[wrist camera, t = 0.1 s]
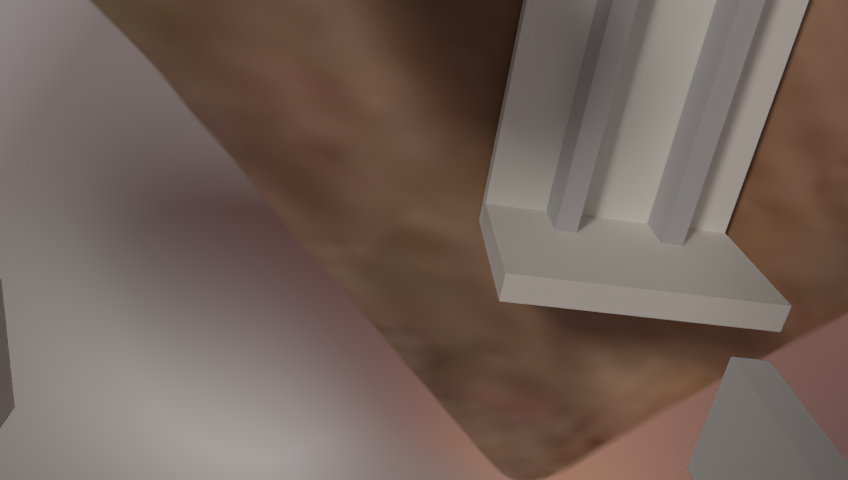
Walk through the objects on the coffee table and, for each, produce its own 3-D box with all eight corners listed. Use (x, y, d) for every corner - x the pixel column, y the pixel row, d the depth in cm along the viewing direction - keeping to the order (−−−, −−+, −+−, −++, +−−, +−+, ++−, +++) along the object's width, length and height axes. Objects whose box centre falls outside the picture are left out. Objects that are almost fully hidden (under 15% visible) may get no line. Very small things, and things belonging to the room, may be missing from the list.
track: (567, -222, 34) (623, -249, 26) (858, -168, 35) (996, -178, 27) (478, 220, 43) (499, 301, 35) (710, 248, 45) (780, 332, 37)
